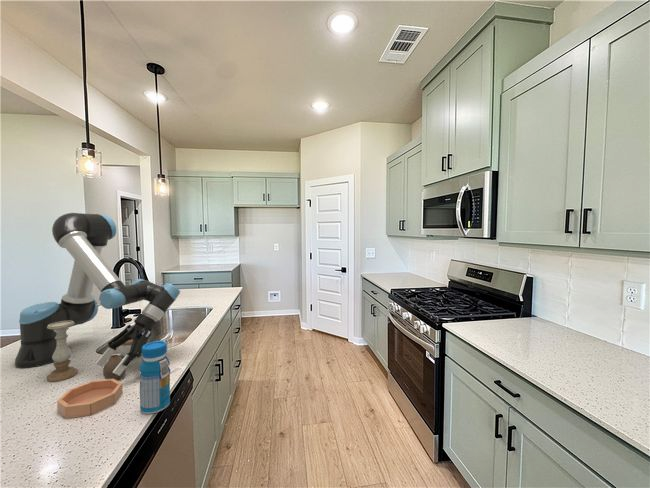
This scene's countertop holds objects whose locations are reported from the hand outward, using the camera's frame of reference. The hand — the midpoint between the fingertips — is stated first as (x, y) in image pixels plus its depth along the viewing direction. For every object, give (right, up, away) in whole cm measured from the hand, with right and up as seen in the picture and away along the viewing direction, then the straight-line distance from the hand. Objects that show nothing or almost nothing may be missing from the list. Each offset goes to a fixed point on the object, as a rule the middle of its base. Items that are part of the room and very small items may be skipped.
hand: (106, 369), depth 103 cm
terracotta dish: (+4, -5, -12) cm, 14 cm away
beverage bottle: (+26, -6, -14) cm, 30 cm away
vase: (+1, -5, +2) cm, 5 cm away
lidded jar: (-6, -4, +22) cm, 23 cm away
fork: (+19, -5, +7) cm, 21 cm away
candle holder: (-20, -4, +4) cm, 21 cm away
